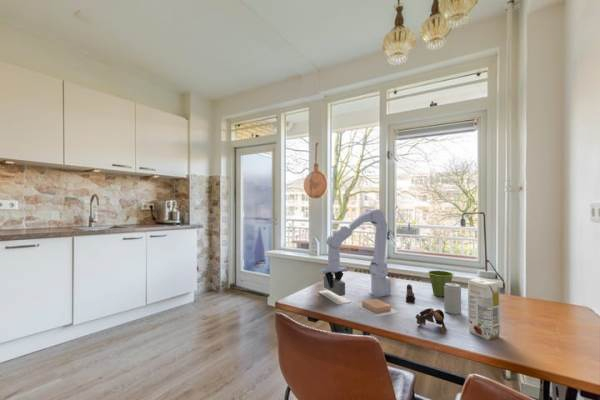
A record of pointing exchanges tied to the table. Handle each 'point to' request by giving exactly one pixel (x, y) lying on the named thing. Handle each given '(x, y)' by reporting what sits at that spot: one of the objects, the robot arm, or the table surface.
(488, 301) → the juice carton
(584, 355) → the table surface
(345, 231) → the robot arm
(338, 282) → the dark grey block
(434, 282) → the plant pot
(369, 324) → the table surface
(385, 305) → the tile
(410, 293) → the hand tool
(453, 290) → the beverage can
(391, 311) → the mat
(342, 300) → the tool rest
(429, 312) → the brown toy animal
